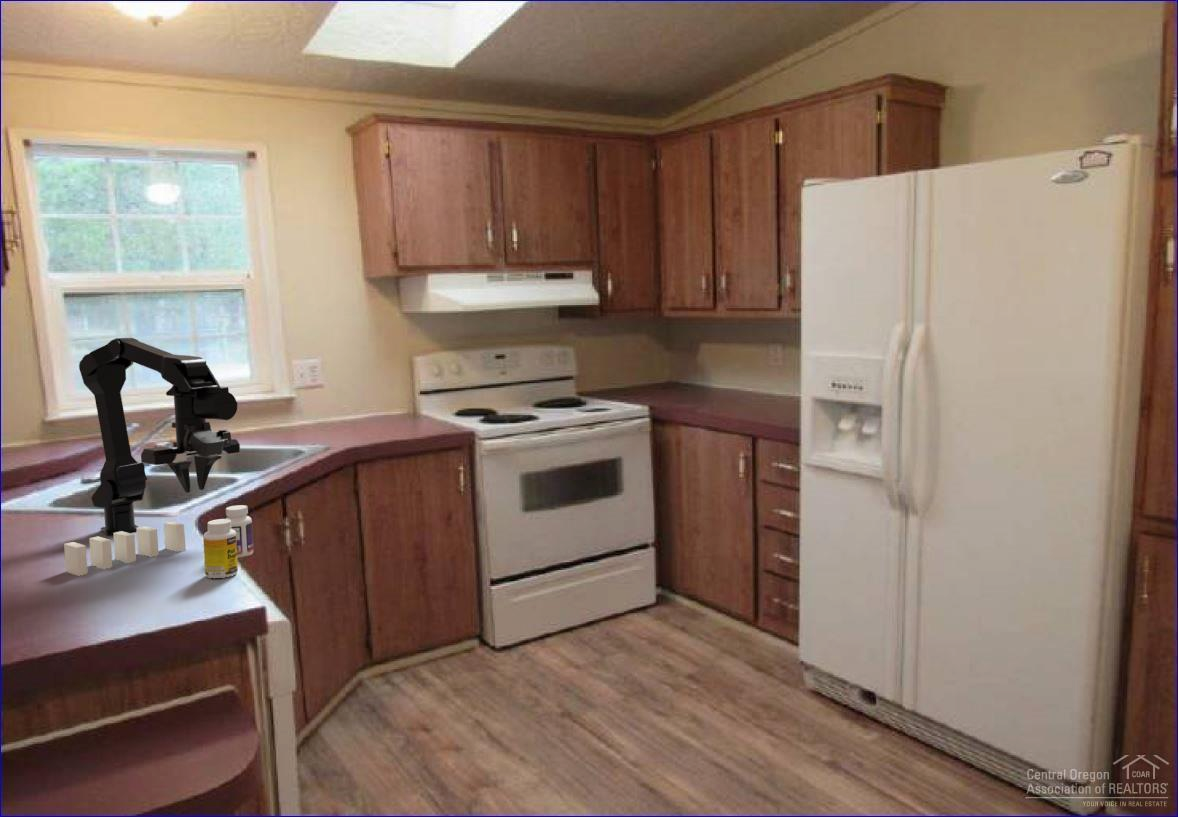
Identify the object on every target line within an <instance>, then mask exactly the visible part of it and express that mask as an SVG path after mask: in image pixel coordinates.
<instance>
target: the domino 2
mask: <svg viewBox="0 0 1178 817" xmlns="http://www.w3.org/2000/svg"><path fill="white" fill-rule="evenodd" d="M89 550H90V552H89V553H90V554H89V555H90V566H91V565H93V566H92V567H94V566H97V567H99V568H98V569H101V568H102V569H101V570H107V569H106V568H108V569H111V568H110V567H112V568H113V555H112V554H113V552H112V539H108V538H105V537H102V536H98V535H97V536H94V537H89ZM97 567H96V568H97Z"/></svg>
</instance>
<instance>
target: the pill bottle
mask: <svg viewBox="0 0 1178 817" xmlns="http://www.w3.org/2000/svg"><path fill="white" fill-rule="evenodd" d="M248 514H249V510H248V505H245V504H244V505H243V504H241V505H240V504H239V505H230V506H227V507H226V508H225V516H226V518H225V519H229V520H231V525H232V526H231V529H233V530H235V531H236V539H237V559H239V558H245V557H249V556H251V555H253V553H254V537H253V535H254V534H253V533H254V532H253V520H252V518H251V516H249V515H248Z"/></svg>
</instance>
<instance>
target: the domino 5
mask: <svg viewBox="0 0 1178 817" xmlns="http://www.w3.org/2000/svg"><path fill="white" fill-rule="evenodd" d="M163 532H164V533H163V534H164V536H163V537H164V549H165V548H168V549H167V550H169V549H172V550H176V551H181V550H184V551H186V534H185V524H184V523H179V522H174V521H167V522H163ZM172 550H171V551H172ZM176 551H175V552H176ZM181 552H182V551H181Z"/></svg>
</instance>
